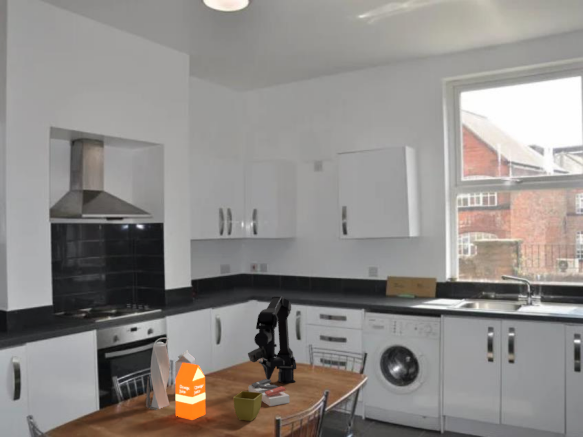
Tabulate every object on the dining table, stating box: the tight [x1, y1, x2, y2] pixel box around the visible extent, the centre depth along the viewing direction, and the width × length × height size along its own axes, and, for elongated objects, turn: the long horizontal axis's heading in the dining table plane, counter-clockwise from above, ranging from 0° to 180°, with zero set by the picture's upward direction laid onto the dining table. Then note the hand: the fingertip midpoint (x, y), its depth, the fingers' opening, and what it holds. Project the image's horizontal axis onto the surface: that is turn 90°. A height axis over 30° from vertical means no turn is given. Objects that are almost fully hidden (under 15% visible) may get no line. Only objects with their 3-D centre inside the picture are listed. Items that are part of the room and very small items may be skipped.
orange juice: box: [175, 363, 207, 421], centre depth 208 cm, size 8×9×20 cm
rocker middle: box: [258, 384, 279, 389], centre depth 229 cm, size 8×4×1 cm, turn 118°
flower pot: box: [232, 390, 263, 422], centre depth 203 cm, size 9×9×9 cm
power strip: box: [248, 383, 290, 407], centre depth 231 cm, size 9×28×3 cm, turn 28°
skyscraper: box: [145, 337, 170, 411], centre depth 219 cm, size 8×8×28 cm
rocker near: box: [251, 378, 272, 388], centre depth 235 cm, size 8×4×1 cm, turn 118°
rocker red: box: [265, 385, 287, 396], centre depth 223 cm, size 8×4×1 cm, turn 118°
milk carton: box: [174, 349, 197, 389], centre depth 235 cm, size 7×7×19 cm
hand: (268, 379), depth 221 cm, fingers closed
